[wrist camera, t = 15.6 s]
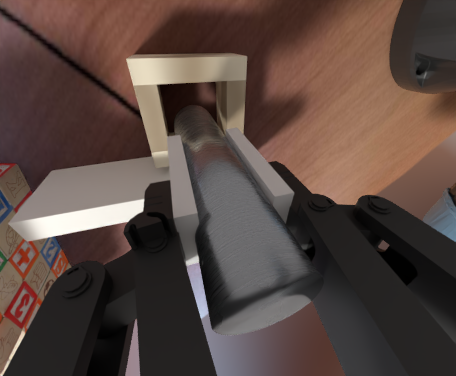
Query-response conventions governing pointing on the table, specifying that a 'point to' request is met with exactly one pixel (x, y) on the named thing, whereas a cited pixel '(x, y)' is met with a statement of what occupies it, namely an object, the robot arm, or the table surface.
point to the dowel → (240, 236)
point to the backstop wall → (87, 198)
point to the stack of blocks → (21, 266)
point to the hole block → (187, 73)
